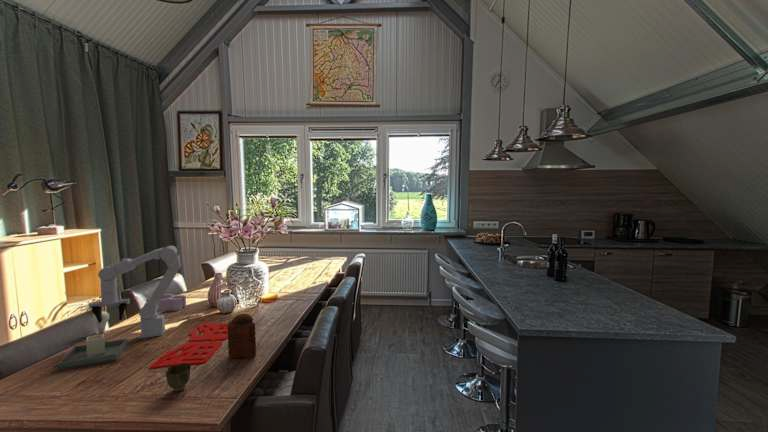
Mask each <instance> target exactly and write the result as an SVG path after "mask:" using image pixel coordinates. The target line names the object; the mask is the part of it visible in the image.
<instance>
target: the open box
mask: <svg viewBox="0 0 768 432" xmlns="http://www.w3.org/2000/svg"><path fill="white" fill-rule="evenodd" d="M85 339H86V341H85V345H86V347H87V358H90V357H94V356H98V355H102V354H105V342H106V340H105V333H102V334H100V333H98V334H95V335H89V336H86V338H85Z"/></svg>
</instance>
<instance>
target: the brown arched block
mask: <svg viewBox="0 0 768 432" xmlns="http://www.w3.org/2000/svg"><path fill="white" fill-rule="evenodd" d="M227 330H228V339H227V344H228V347H227V349H228V350H227V351H228V358H230V359H250V358H251V359H252V358H255V357H256V356H257V355H256V353H257V343H256V342H257V340H256V335H257V334H256V324H255V323H254V318H253V316H252V315H250V314H248V313H240V314H237V315H235V316H234V317H233V318H232V320H230V321H228V329H227Z"/></svg>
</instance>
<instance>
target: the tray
mask: <svg viewBox="0 0 768 432" xmlns="http://www.w3.org/2000/svg"><path fill="white" fill-rule="evenodd" d="M127 346H128V338H123V339H122V338H121V339H116V340H110V341H105V354H102V355H98V356H94V357H90V358H87V347H86V344H84V345H83V344H82V345H76V346H74V347H73V348H72V349H71V350H69V352H68V353H67V354H65V356H63V358H62V359H61V360H59V361H58V362H57V372H62V371H67V370H73V369H80V368H85V367H91V366H96V365H97V366H98V365H101V364H102V365H103V364H107V363H108V364H109V363H113V362H114V363H115V362H117V361H118V360H119V358H120V357H121V355H122V354H123V352H124V351H125V350H126V348H127Z"/></svg>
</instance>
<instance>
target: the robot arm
mask: <svg viewBox="0 0 768 432" xmlns="http://www.w3.org/2000/svg"><path fill="white" fill-rule="evenodd" d="M180 255H181V253H180V251H179V249H178V248H177V246H176V245H175V246H174V245H167V246H165V247H161V248H157V249H154V250H152V251H149V252H147V253H144V254H142V255H140V256H138V257H135V258H125V257H124V258H122V259H120V261H117V262H116V263H110V264H109V265H107V266H104V267H103V268H101V269H100V270H98V274H97V275H98V276H97V277H98V278H99V279H100V296H101V297H100V298H101V301H96V302H89V304H88V309H91V312H92V313H93V315H94V314H95V316H96V317H97V320H98V323H101V322H102V311H103V307H109V306H115V305H116V306H117V309H118V314H119V317H118V320H119V321H122V320H123V318H124V313H125V310H126V308H127V305H129V304H130V303H131V301H130V298H119V299H118V297H119V296H118V281H117V276H120V275H122V274H125V273H127V272H130V271H132V270H134V269H136V266H137V265H140V264H143V263H145V262H149V261H151V260H153V259H154V260H160V259H161V261H163V262H165V264H166V266H167V269H166V271H165V273H164V274H163V276H162V277H161V279H160V281H159V283H158V285H157V286H156V288H155V290H154V291H153V293H152V295H151V296H150V297H149V298H150V299H149V298H148V299H149V301H148V302H146V301H145V303H144V305H143V306H142V307H141V308H140V310H139V313H138V315H139V316H140V335H139V336H138V339H139V340H140V339H146V338H147V339H148V338H154V337H159V336H163V335H164V333H165V330H166V327H165V326H166V324H165V315H164V314H160V312H157V310H158V308H159V302H160V301H161V299H162V297H163V296H164V294H166V292H167V290H168V289H169V288H170V286H171V284H172V282H173V281H174V278H175V277H176V276H177V274H178V272H179V271H180V269H181V266H182V265H181V264H182V263H181V256H180Z"/></svg>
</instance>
